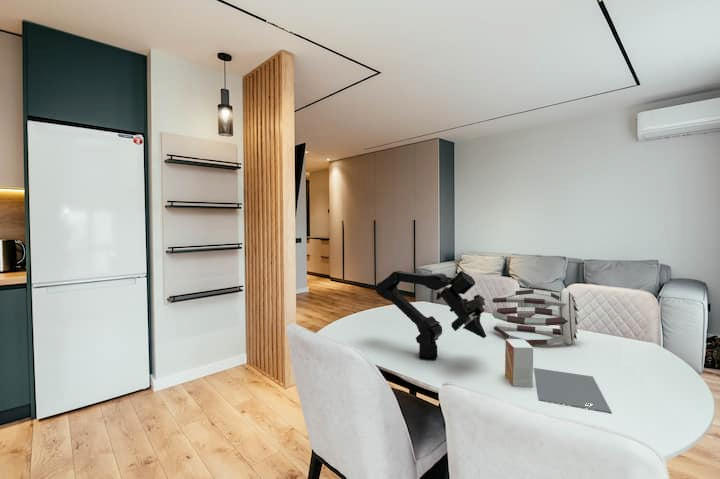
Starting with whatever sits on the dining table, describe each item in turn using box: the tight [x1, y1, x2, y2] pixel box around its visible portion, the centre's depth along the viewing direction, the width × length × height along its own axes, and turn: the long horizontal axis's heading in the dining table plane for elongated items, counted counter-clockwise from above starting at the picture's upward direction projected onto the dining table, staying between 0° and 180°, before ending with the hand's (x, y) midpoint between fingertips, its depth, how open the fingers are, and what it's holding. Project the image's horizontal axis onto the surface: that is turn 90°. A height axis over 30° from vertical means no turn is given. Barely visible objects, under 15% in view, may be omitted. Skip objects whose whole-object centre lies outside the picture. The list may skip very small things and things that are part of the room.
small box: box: [504, 338, 534, 388], centre depth 115 cm, size 8×6×13 cm
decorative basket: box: [491, 287, 580, 346], centre depth 156 cm, size 24×27×35 cm
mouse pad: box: [533, 367, 612, 414], centre depth 110 cm, size 18×24×1 cm
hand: (485, 337), depth 122 cm, fingers closed
